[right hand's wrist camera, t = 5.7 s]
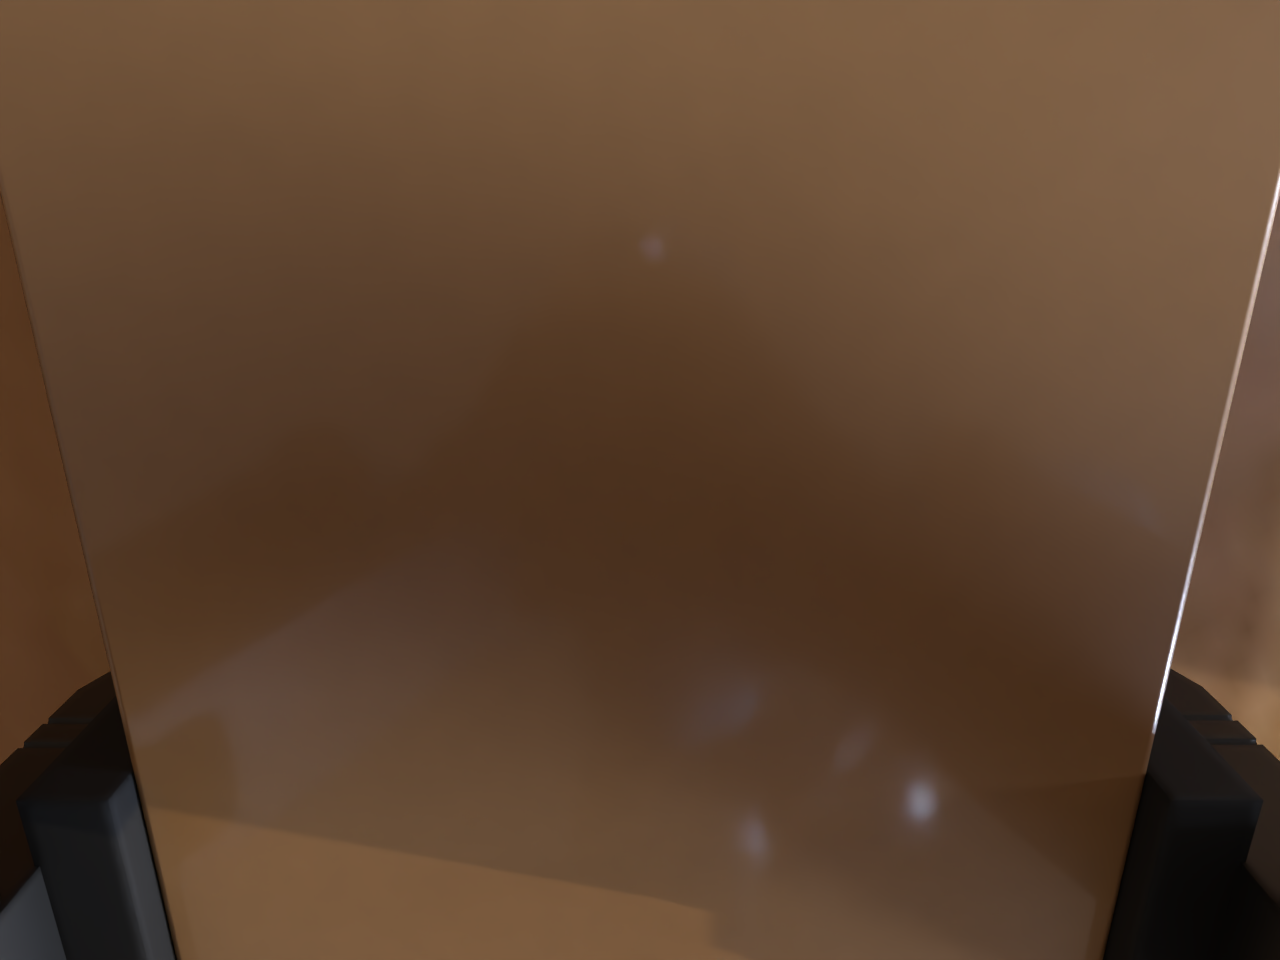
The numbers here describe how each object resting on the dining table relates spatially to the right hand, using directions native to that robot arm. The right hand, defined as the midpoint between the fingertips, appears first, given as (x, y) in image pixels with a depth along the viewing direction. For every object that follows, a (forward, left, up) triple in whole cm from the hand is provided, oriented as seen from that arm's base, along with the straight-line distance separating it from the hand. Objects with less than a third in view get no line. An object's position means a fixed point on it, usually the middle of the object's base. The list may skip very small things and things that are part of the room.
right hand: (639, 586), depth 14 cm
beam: (+10, -32, 0) cm, 34 cm away
